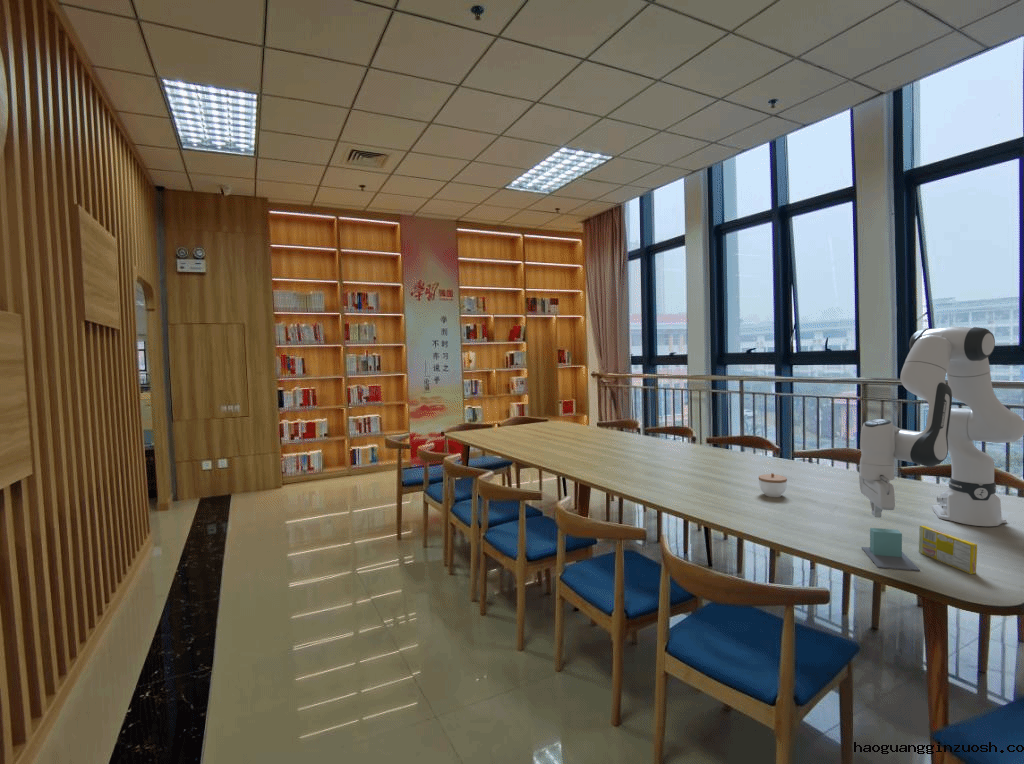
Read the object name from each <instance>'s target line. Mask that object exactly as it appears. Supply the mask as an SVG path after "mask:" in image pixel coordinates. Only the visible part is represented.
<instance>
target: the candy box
mask: <svg viewBox="0 0 1024 764" xmlns="http://www.w3.org/2000/svg"><path fill="white" fill-rule="evenodd" d="M918 536H919V537H918V553H919V554H922V555H925V556H927V557H929V558H931V559H933V560H934V559H935V560H936V561H938V562H941V563H943V564H945V565H948V566H951V567H953V568H955V569H957V570H961V571H963V572H964V573H966V574H969V575H976V574H977V561H978V544H977V543H974V542H971V541H968V540H965V539H963V538H960V537H957V536H955V535H951V534H949V533H946V532H944V531H941V530H938V529H935V528H932V527H929V526H926V525H919V535H918Z"/></svg>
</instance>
